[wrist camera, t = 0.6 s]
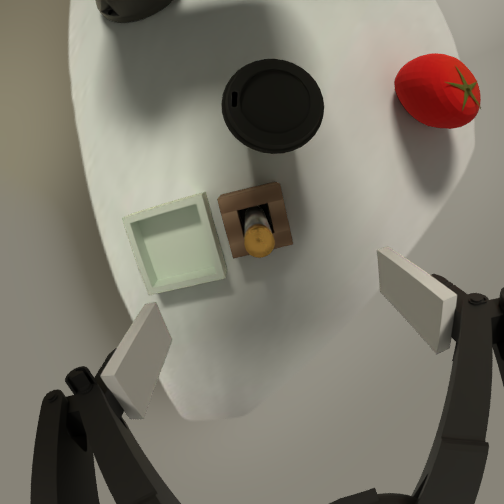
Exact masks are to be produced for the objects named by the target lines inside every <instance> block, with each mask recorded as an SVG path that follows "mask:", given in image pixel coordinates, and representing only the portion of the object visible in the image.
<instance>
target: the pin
mask: <svg viewBox="0 0 504 504" xmlns="http://www.w3.org/2000/svg"><path fill="white" fill-rule="evenodd" d="M244 245H245V249H246V251H247V252H248V253H249V254H250V255H252V256H254V257H258V258H261V257H265V256H267V255H269V254H270V253H271V252H272V250H273V248H274V245H275V241H274V237H273V234H272V232H271V229H270V226H269V224H268V221H267V218H266V216H265V213H264V210H263V209H262V208H261V207H259V206H253V207H249V208H248V209H247V210H246V212H245V237H244Z"/></svg>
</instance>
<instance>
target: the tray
mask: <svg viewBox="0 0 504 504" xmlns="http://www.w3.org/2000/svg"><path fill="white" fill-rule="evenodd" d="M122 220H123V224H124V227H125V230H126V233H127V236H128V239H129V242H130V245H131V248H132V251H133V254H134V257H135V260H136V262H137V265H138V268H139V271H140V273H141V276H142V279H143V281H144V284H145V287H146V289H147V292H148V294H149V295H152V294H156V293H161V292H166V291H170V290H175V289H180V288H184V287H189V286H193V285H198V284H202V283H207V282H211V281H216V280H220V279H225V277H226V272H227V268H226V264H225V261H224V257H223V254H222V250H221V247H220V243H219V240H218V236H217V232H216V229H215V225H214V222H213V218H212V214H211V211H210V207H209V203H208V200H207V196H206V192H203V193H199V194H196V195H192V196H188V197H185V198H181V199H178V200H175V201H171V202H168V203H164V204H161V205H158V206H155V207H151V208H148V209H145V210H142V211H139V212H136V213H133V214H130V215H128V216H126V217H124V218H122Z"/></svg>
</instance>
